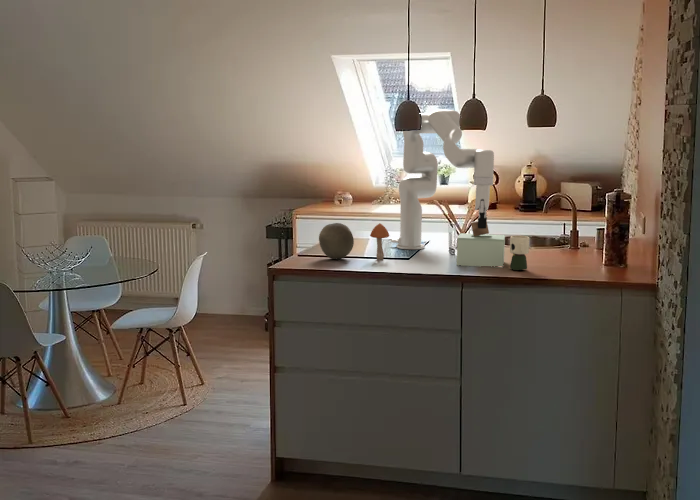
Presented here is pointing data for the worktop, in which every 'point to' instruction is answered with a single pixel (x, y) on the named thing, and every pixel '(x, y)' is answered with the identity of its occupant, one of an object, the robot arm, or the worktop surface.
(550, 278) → the worktop surface
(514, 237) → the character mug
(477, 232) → the brown wooden block
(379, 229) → the mushroom
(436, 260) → the worktop surface
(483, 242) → the coin box
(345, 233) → the cantaloupe
